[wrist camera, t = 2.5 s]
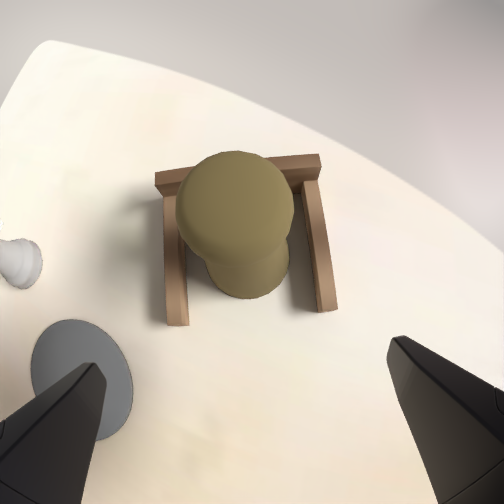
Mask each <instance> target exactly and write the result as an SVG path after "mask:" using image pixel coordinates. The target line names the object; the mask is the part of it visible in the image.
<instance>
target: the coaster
mask: <svg viewBox="0 0 504 504" xmlns="http://www.w3.org/2000/svg"><path fill="white" fill-rule="evenodd" d="M84 362H95V363H96V364H97V365H98V367H99V368H100V370H101V371H102V373H103V374H104V376H105V378H106V380H107V388H106V394H105V399H104V405H103V411H102V417H101V422H100V426H99V430H98V434H97V437H96V441H98V440H102V439H105V438H107V437H109V436H111V435H113V434H114V433H116V432H117V431H118V430H119V429H120V428H121V427H122V426H123V424H124V423H125V422H126V420H127V418H128V416H129V413H130V410H131V406H132V401H133V384H132V378H131V374H130V370H129V367H128V364H127V362H126V359H125V357H124V355H123V353H122V352H121V350H120V349H119V347H118V345H117V344H116V343H115V342H114V340H113V339H112V338H111V337H110V336H109V335H108V334H107V333H106V332H104V331H103V330H102V329H100V328H99V327H97V326H95V325H93V324H91V323H89V322H85V321H81V320H63V321H59V322H57V323H55V324H53V325H51V326H50V327H49V328H47V329H46V330H45V331H44V332H43V334H42V335H41V336H40V338H39V339H38V341H37V343H36V346H35V348H34V351H33V355H32V361H31V378H32V384H33V388H34V392H35V395H36V396H38V395H39V394H41V393H42V392H43V391H45V390H46V389H47V388H49V387H50V386H52V385H53V384H54V383H56V382H57V381H59V380H60V379H61V378H63V377H64V376H65V375H67V374H68V373H70V372H71V371H72V370H74V369H75V368H77V367H78V366H79V365H81V364H82V363H84Z"/></svg>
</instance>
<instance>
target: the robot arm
mask: <svg viewBox="0 0 504 504" xmlns="http://www.w3.org/2000/svg"><path fill="white" fill-rule="evenodd" d="M387 364H388V368H389V371H390V374H391V378H392V381H393V384H394V388H395V391H396V395H397V398H398V401H399V404H400V406H401V409H402V411H403V413H404V416H405V418H406V420H407V423H408V425H409V428H410V430H411V433H412V435H413V438H414V440H415V443H416V445H417V448H418V450H419V453H420V455H421V458H422V460H423V463H424V466H425V468H426V471H427V474H428V476H429V479H430V482H431V485H432V487H433V490H434V493H435V496H436V499H437V501H438V504H504V391H502V390H500V389H498V388H497V387H495V388H494V386H492V385H491V384H489V383H487V382H485V381H484V380H482V379H480V378H478V377H477V376H475V375H473V374H471V373H470V372H468V371H466V370H464V369H463V368H461V367H459V366H458V365H456V364H454V363H452V362H451V361H449V360H447V359H445V358H444V357H442V356H440V355H438V354H437V353H435V352H433V351H431V350H430V349H428V348H426V347H424V346H423V345H421V344H419V343H417V342H416V341H414V340H412V339H410V338H409V337H407V336H404V335H402V336H397V337H393V338H392V339H391V342H390V346H389V349H388V353H387ZM106 388H107V380H106V378H105V376H104V374H103V373H102V371H101V370H100V368H99V367H98V365H97V364H96V363H95V362H84V363H82V364H81V365H79V366H78V367H77V368H75V369H74V370H72V371H71V372H70V373H68V374H67V375H65V376H64V377H63V378H61V379H60V380H59V381H57V382H56V383H54V384H53V385H52V386H50V387H49V388H47V389H46V390H45V391H43V392H42V393H41V394H39V395H38V396H36V397H35V398H34V399H32V400H31V401H30V402H28V403H27V404H25V405H24V406H23V407H21V408H20V409H19V410H17V411H16V412H14V413H13V414H12V415H10V416H9V417H8V418H6V420H3V421H1V422H0V504H81V500H82V496H83V491H84V486H85V482H86V477H87V473H88V469H89V465H90V461H91V457H92V453H93V449H94V445H95V441H96V437H97V434H98V430H99V426H100V422H101V417H102V411H103V405H104V399H105V394H106Z"/></svg>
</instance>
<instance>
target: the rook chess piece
mask: <svg viewBox="0 0 504 504" xmlns="http://www.w3.org/2000/svg"><path fill="white" fill-rule="evenodd" d="M42 261H43V260H42V256H41V251H40V249H39V247H38V245H37V244H36V243H34V242H33V241H28V240H26V239H16V240H11V241H5V240H1V239H0V273H1V274H2V275H3V277H5V279H6V281H7V282H9V283H10V284H11V285H13V286H17V287H18V288H20V289H27V288H28V287H30V286H32V285H33V284H34V283H35V282H36V280H37V279H38V277H39V275H40V273H41V270H42Z"/></svg>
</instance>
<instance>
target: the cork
mask: <svg viewBox="0 0 504 504" xmlns="http://www.w3.org/2000/svg"><path fill="white" fill-rule="evenodd" d="M293 214H294V203H293V195H292V192H291V189H290V187H289V185H288V183H287V181H286V179H285V177H284V175H283V173H282V172H281V171H280V170H279V169H278V168H277V167H276V166H275V165H274V164H273V163H272V162H270V161H268V160H266V159H264V158H263V157H261V156H259V155H257V154H253V153H247V152H242V151H228V152H221V153H218V154H215V155H212V156H210V157H207V158H206V159H204V160H203V161H201V162H200V163H199V164H197V165H196V166H195V167H193V168H192V169H191V170H190V172H189V173H188V174H187V176H186V177H185V178H184V180H183V181H182V182H181V185H180V188H179V190H178V193H177V196H176V206H175V217H176V222H177V225H178V228H179V231H180V235H181V237H182V238H183V239H184V241H185V242H186V243H187V245H188V246H189V247H190V249H191V250H192V251H193V252H194V253H195V254H196V255H198V256H200V257H201V258H203V259H204V260H205V264H206V268H207V270H208V273H209V276H210V278H211V280H212V281H213V282H214V283H215V285H216V286H217V287H218V288H219V289H220V290H222V291H223V292H225V293H226V294H228V295H229V296H233V297H236V298H240V299H254V298H258V297H261V296H264V295H266V294H269V293H270V292H271V291H272V290H274V289H275V288H276V287H277V286H278V285H280V283H281V281H282V280H283V278H284V277H285V275H286V273H287V269H288V265H289V261H290V259H289V248H288V244H287V240H286V237H287V235H288V234H289V231H290V227H291V223H292V219H293Z"/></svg>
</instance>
